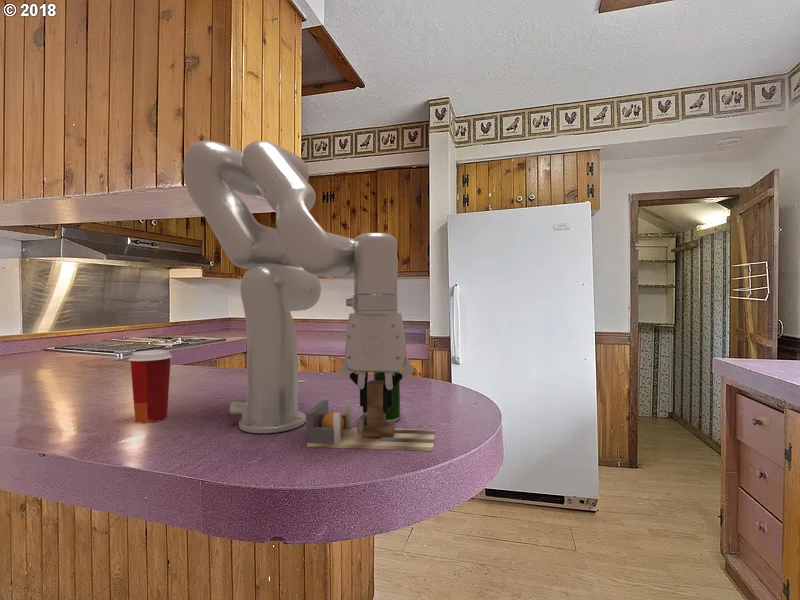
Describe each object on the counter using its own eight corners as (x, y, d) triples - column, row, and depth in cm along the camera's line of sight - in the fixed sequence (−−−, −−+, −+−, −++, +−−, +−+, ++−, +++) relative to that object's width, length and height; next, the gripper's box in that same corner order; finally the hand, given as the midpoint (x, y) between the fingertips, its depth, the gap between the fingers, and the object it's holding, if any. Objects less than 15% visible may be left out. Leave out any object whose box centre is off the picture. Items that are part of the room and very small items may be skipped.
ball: (345, 428, 69) (328, 443, 70) (350, 421, 73) (335, 435, 74) (329, 410, 70) (313, 425, 70) (335, 404, 74) (320, 419, 74)
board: (306, 446, 68) (306, 440, 68) (323, 429, 76) (323, 423, 76) (433, 451, 65) (433, 444, 65) (435, 432, 74) (435, 426, 74)
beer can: (382, 425, 79) (381, 363, 79) (369, 418, 83) (368, 360, 83) (405, 420, 82) (404, 360, 82) (391, 414, 86) (390, 357, 86)
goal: (306, 443, 67) (306, 413, 67) (323, 426, 77) (323, 399, 77) (339, 444, 67) (339, 414, 67) (352, 427, 76) (352, 400, 76)
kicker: (396, 429, 73) (395, 378, 73) (391, 440, 67) (391, 385, 67) (364, 428, 74) (364, 378, 74) (357, 439, 68) (356, 385, 68)
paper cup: (176, 412, 89) (175, 349, 89) (168, 422, 82) (167, 353, 82) (134, 416, 87) (134, 350, 87) (123, 426, 80) (122, 355, 80)
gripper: (323, 305, 68) (324, 415, 68) (421, 305, 66) (422, 418, 66) (336, 305, 75) (336, 404, 75) (424, 304, 74) (424, 406, 74)
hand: (376, 409), depth 71 cm, fingers closed on kicker, 2 cm apart
